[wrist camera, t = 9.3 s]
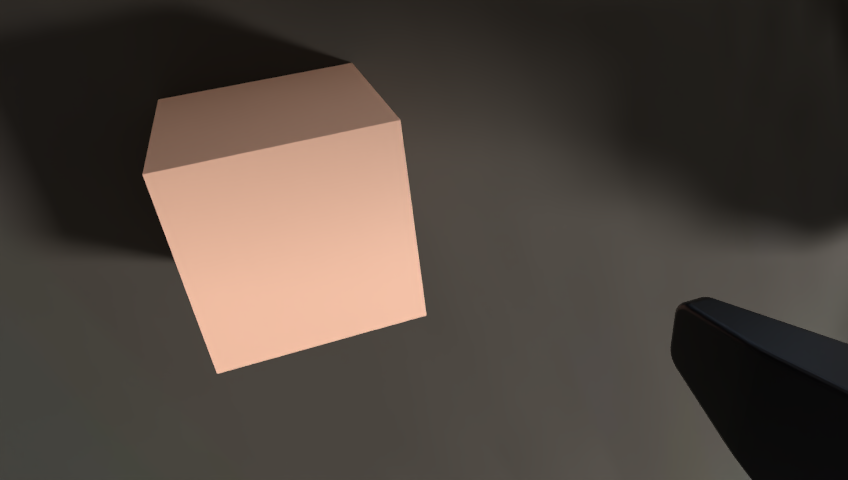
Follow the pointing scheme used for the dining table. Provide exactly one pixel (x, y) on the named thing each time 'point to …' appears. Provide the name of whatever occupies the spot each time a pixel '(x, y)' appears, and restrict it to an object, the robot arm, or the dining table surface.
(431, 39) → the dining table surface
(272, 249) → the peach block
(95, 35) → the dining table surface
